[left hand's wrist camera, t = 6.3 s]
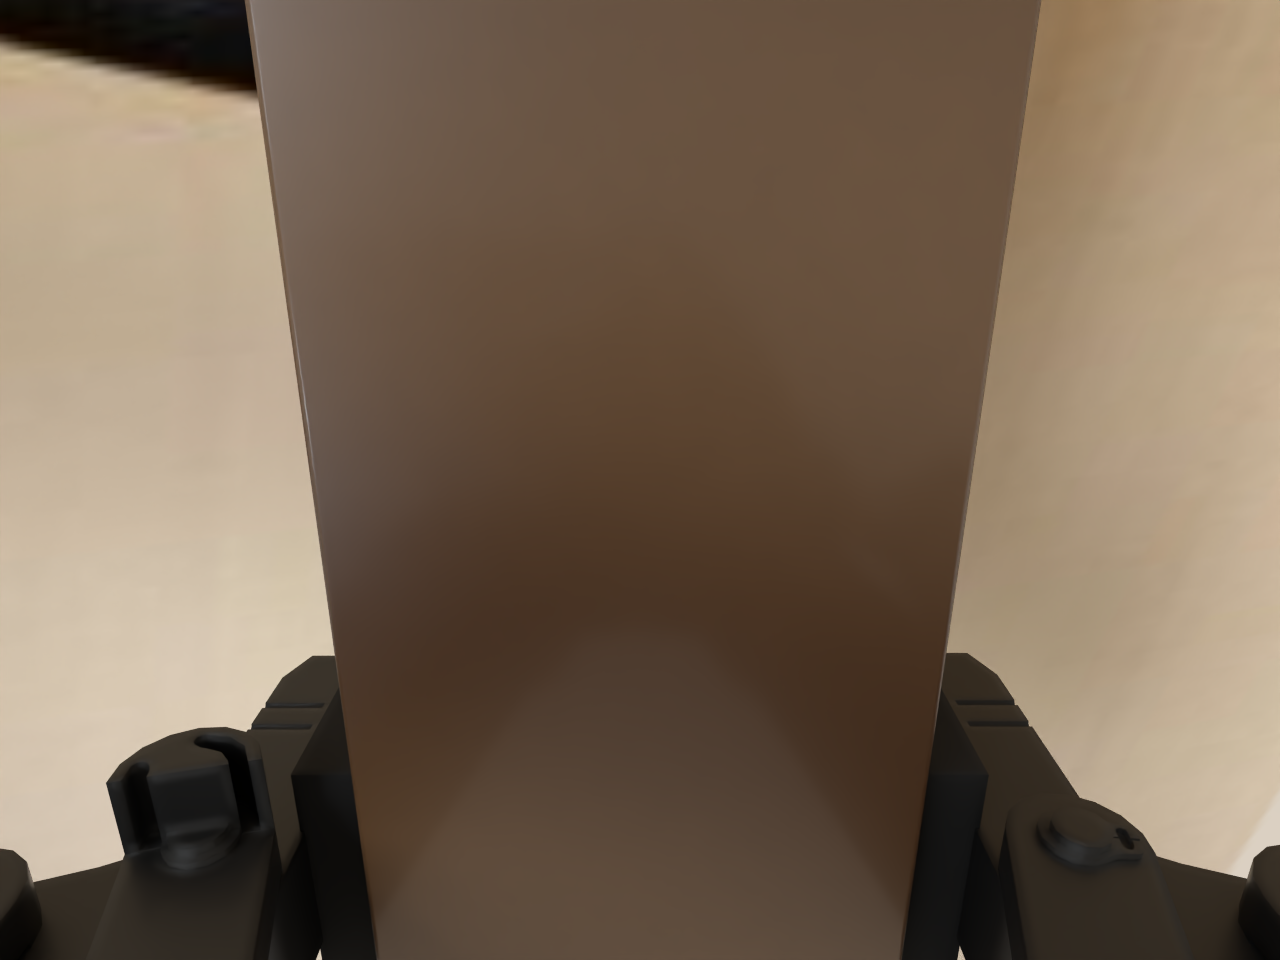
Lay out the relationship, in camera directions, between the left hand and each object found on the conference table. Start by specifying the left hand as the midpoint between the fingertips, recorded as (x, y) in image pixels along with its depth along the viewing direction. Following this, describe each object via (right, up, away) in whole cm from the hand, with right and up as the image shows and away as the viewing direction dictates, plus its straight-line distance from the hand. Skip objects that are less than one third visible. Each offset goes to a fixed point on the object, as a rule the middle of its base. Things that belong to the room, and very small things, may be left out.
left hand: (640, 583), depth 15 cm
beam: (0, +24, -8) cm, 25 cm away
